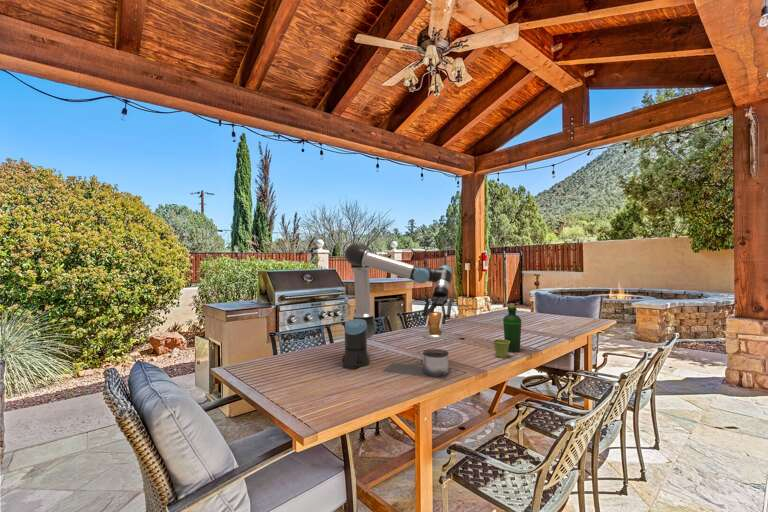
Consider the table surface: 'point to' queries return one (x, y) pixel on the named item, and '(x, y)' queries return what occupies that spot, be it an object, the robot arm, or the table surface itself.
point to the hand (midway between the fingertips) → (433, 328)
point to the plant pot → (501, 347)
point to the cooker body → (435, 363)
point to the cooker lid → (435, 327)
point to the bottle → (512, 329)
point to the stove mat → (410, 370)
